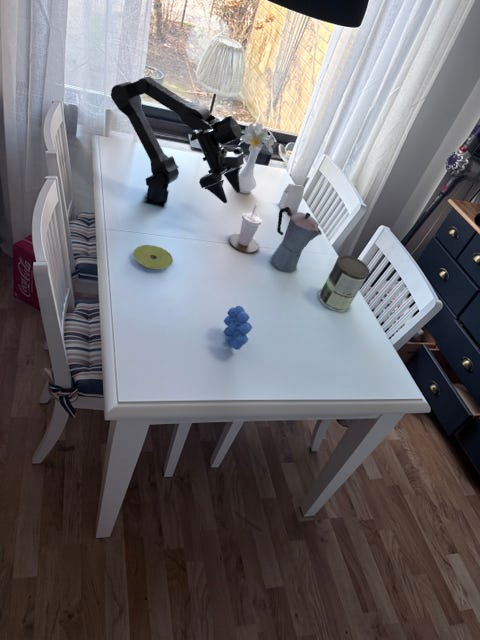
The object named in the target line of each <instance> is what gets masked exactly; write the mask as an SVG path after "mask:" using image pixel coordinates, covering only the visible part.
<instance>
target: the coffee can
mask: <svg viewBox="0 0 480 640" xmlns="http://www.w3.org/2000/svg"><path fill="white" fill-rule="evenodd" d="M369 275H370V268H369V267H368V265H367V264H366V263H365V262H363V261H362V260H360V259H359V258H357V257H355V256H353V255H347V254H342V255H339V256H338V257H337V258H336V261H335V263H334V265H333V267H332V269H331V271H330V272H329V274H328V276H327V278H326V281H325V282H324V284H323V286H322V288H321V289H320V291H319V293H318V299H319V301H320V303H321V304H322V305H324V307H326V308H328V309H329V310H331V311H334V312H339V313H344V312H347V311H348V310H349V309H350V306H351V304H353V301H354V300H355V298H356V296H357V295H358V293H359V291H360V289H361V287H362V286H363V285H364V283H365V281H366V279H367V278H368V276H369Z"/></svg>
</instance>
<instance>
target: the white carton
mask: <svg viewBox="0 0 480 640" xmlns="http://www.w3.org/2000/svg"><path fill="white" fill-rule="evenodd" d="M304 192H305V185H300V184H294V183H288V185H286V188H285V189H284V190H283V192H282V195H281V197H280V200H279V203H278V206H279V208H280V209H283V208H285V207H289V208H290V209H291V210H293V211H295V212H298V210H299V208H300V205H301V203H302V200H303V198H304Z"/></svg>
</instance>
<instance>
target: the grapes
mask: <svg viewBox="0 0 480 640" xmlns="http://www.w3.org/2000/svg"><path fill="white" fill-rule="evenodd" d="M226 313H227V316H226V317H225V318H224V319H223V323H224V324H225V325H226V327H225V328H224V330H223V331H222V333H223V334H224V335H225V337H226V340H225V342H226V344H227V345H228V346H229V347H232V348H233V349H234V350H240V349H241V348H242V347H243V346H244V345H246V344H247V342H248V341H249V338H248V336H247V335H248V334H249V333H250V332H251V331H252V330H253V325H252V323H250V322H248V321H249V320H250V317H251V316H250V315H249V314H248V313H247V312H246V311H245V309H244V307H243V306H241V305H237V306H235V307H234V306H233V307H230V308H229V309H228V310H227V312H226Z"/></svg>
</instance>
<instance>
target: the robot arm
mask: <svg viewBox="0 0 480 640" xmlns="http://www.w3.org/2000/svg"><path fill="white" fill-rule="evenodd" d="M141 95H146V96H147V97H149V98H150V99H153V100H154V101H156V102H157V103H159V104H161V105H162V106H164V107H165V108H167V109H168V110H169V111H172V112H173V113H175V114H176V115H177V116H178V117H179V119H180V120H181V122H182V123H183V124H185V125H186V126H187V127H188V128H189V129H190V130H192V132H191V137H190V139H189V140H190V142H193V141H195V140H197V142H198V145H199V147H200V150H201V151H202V154H203V157H202V162H205V161H206V163H207V166H208V168H209V170H208V171H207V172H208V173H206V174H205V175H203V176H202V177H200V178H199V181H198V183H199V186H200V188H201V189H204V190H207V191H208V192H210V193H211V194H213V195H214V196H215V197H216V198H217V199H218V200H220V202H222V203H223V204H227V203H228V199H227V195H226V193H225V190H224V186H223V185H224V181H225V180H224V179H223V176H224V178H225V179H226V180H227V181H228V183H229V185H231V187H232V188H233V190H234V191H235V193H237V194H239V193H241V192H240V185H239V172H241V170H242V169H243V166H242V165H244V164H245V162H244V158H245V157H246V154H245V152H244V150H243V149H242V147H236V148H234V149H233V151H231V152H228V151H227V149H226V148H225V147H222V146H221V145H227V144H229V143H232V142H233V141H236V140H238V139H239V140H240V138H241V136H242V133H241V131H242V128H241V126H240V125H241V124H239V123H238V121H237V120H236V119H235V118H234V116H233V115H232V114H229V115H227V116H226V117H224V118H222V119H219V118H218V117H217V116H215V115H214V114H213V113H211V112H210V109H209V108H208V107H207V106H204V105H202V104H199V103H197V102H194V101H190V100H187V99H184V98H183V97H181V96H179V95H178V94H177V93H176V92H174V91H172V90H170V89H169V88H167V87H165V86H163V85H162V84H161V83H159V82H158V81H156V80H155V79H154V78H153V77H151V76H145V77H142V78H139V79H137V80H136V81H133V82H131V81H126V82H123V83H119V84H116V85H113V86H112V88H111V90H110V98H111V100H112V102H113V103H114V104H115V106H116V108H117V109H118V110H119V111H120V112H121V113H123V114H124V115H125V116H126V117H127V118H128V120H129V122H130V124H131V126H132V128H133V129H134V131H135V134H136V136H137V138H138V139H139V141H140V143H141V145H142V147H143V149H144V151H145V153H146V154H147V156H148V158H149V161H150V172H151V175H150V176H148V177H146V178H145V185H146V186H147V191H146V196H145V200H144V202H145V203H146V204H150V205H154V206H158V207H162V208H163V207H164V208H165V205H166V204H167V202H168V197H169V192H170V189H169V185H170V184H172V183H173V182H175V181H176V180H177V179H178V178H179V174H180V172H179V165H178V164H177V163H176V161H175V158H174V156H173V155H171V156H168V155H166V154H165V152H164V150H163V149H162V147H161V144H160V143H159V141H158V139H157V137H156V134H154V130H153V129H152V127H151V125H150V123H149V122H148V119H147V117H146V116H145V115H146V114H145V113H144V111H143V109H142V108H143V107H142V105H143V104H142V97H141Z"/></svg>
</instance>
